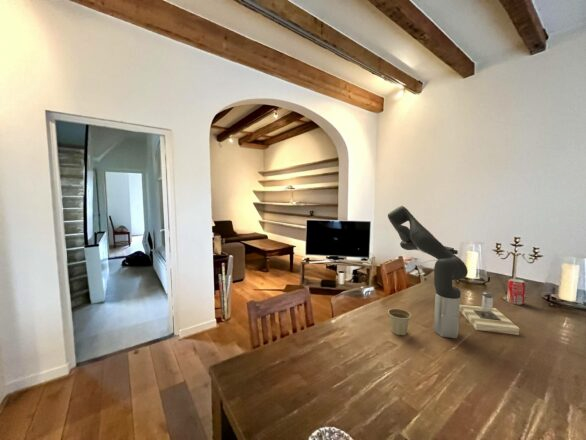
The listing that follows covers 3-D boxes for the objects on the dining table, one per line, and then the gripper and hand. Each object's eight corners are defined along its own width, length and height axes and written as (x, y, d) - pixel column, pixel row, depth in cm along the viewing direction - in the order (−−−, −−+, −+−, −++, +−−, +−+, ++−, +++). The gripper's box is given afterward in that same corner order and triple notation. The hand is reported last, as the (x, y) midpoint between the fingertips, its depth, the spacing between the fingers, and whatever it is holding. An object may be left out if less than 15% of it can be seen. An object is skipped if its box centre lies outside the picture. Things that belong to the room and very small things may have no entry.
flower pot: (386, 334, 108) (386, 315, 107) (388, 324, 117) (389, 306, 116) (409, 340, 104) (410, 320, 103) (410, 329, 112) (411, 311, 111)
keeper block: (518, 334, 108) (519, 327, 107) (476, 329, 112) (476, 322, 112) (494, 313, 127) (495, 307, 126) (459, 310, 131) (459, 304, 131)
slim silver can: (493, 324, 117) (496, 295, 115) (482, 322, 118) (484, 294, 116) (489, 319, 121) (491, 291, 120) (478, 318, 122) (480, 290, 121)
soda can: (527, 305, 137) (529, 282, 135) (514, 305, 137) (516, 282, 136) (516, 300, 144) (517, 278, 142) (503, 299, 144) (505, 278, 143)
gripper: (417, 241, 145) (440, 246, 130) (437, 240, 149) (461, 245, 133) (416, 253, 146) (439, 260, 130) (436, 252, 149) (461, 259, 134)
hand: (450, 253), depth 132 cm, fingers open, 8 cm apart
